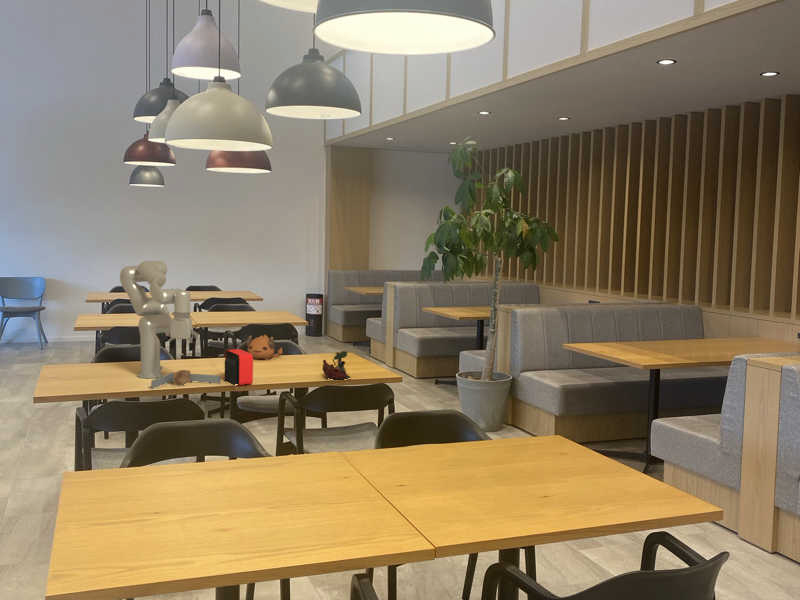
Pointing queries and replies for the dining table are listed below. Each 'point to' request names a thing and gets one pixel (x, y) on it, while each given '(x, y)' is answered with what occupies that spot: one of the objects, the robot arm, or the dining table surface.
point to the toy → (262, 347)
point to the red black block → (238, 367)
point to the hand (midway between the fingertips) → (181, 349)
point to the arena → (193, 377)
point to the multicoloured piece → (336, 368)
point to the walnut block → (181, 377)
